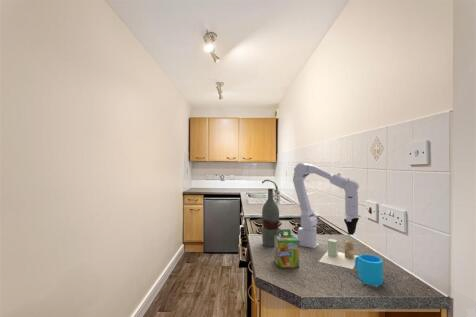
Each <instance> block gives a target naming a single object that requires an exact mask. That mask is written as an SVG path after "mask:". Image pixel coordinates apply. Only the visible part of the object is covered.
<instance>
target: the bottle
mask: <svg viewBox="0 0 476 317" xmlns="http://www.w3.org/2000/svg"><path fill="white" fill-rule="evenodd" d="M279 210H280V209H279V206H278V205H277V203H276V201H275V200H274V189H273V188H268V189H267V200H266V201H265V203H264V204H263V206H262V210H261V218H262V234H261V240H262V244H263V245H264V246H265V247H268V248H269V247H270V248H271V247H272V248H274V235H280V231H279V219H280V211H279Z"/></svg>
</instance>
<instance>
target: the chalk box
mask: <svg viewBox="0 0 476 317" xmlns="http://www.w3.org/2000/svg"><path fill="white" fill-rule="evenodd" d="M291 231H292V229H290V228H287V229H286V228H285V229H283V228H282V229H280V231H279V235H274V247H273V255H274V256H273V260H274V262H275V264H276V267H277V268H278V269H285V268H289V269H291V268H293V269H294V268H295V269H296V268H297V269H299V267H300V266H299V264H300V245H299V241H298V237H296V236H295V235H294V234H292V232H291ZM285 232H286V233H287V234H284V233H285Z"/></svg>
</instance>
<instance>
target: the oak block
mask: <svg viewBox="0 0 476 317" xmlns="http://www.w3.org/2000/svg"><path fill="white" fill-rule="evenodd" d="M344 253H345V258H349V259H354V255H355V241H354V240H347V239H346V240H345V241H344Z"/></svg>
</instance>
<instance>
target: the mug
mask: <svg viewBox="0 0 476 317" xmlns="http://www.w3.org/2000/svg"><path fill="white" fill-rule="evenodd" d="M357 256H358V257H356V259H355V268H356V270H357V271H358V278H359V280H360V281H361V283H364V284H366V285H369V286H376V287H377V286H381V285H383V283H384V261H383V260H384V259H382V258H381V257H380V256H377V255H373V254H359V255H357Z"/></svg>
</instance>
